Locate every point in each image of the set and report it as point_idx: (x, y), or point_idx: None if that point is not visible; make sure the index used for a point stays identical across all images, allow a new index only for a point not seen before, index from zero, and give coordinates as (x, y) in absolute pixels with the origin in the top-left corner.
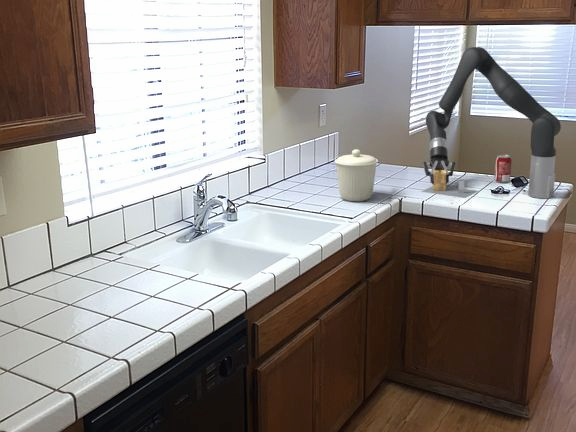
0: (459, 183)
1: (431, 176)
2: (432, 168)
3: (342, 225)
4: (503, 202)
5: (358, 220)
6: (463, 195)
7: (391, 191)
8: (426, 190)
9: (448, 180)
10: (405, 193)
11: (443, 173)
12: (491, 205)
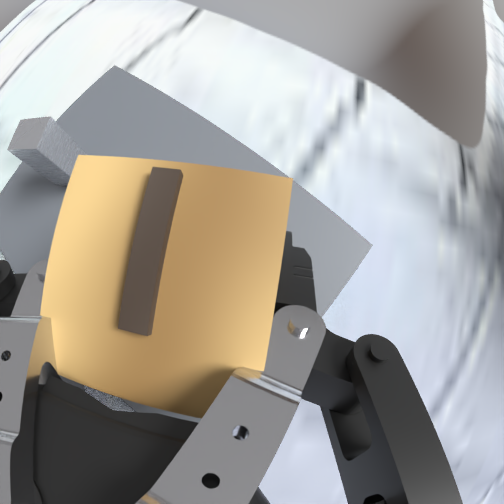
0: (55, 124)
1: (301, 298)
2: (295, 396)
3: (500, 25)
4: (3, 92)
5: (492, 30)
6: (94, 109)
7: (494, 353)
8: (323, 273)
9: None
10: (445, 302)
11: (124, 162)
12: (60, 47)
